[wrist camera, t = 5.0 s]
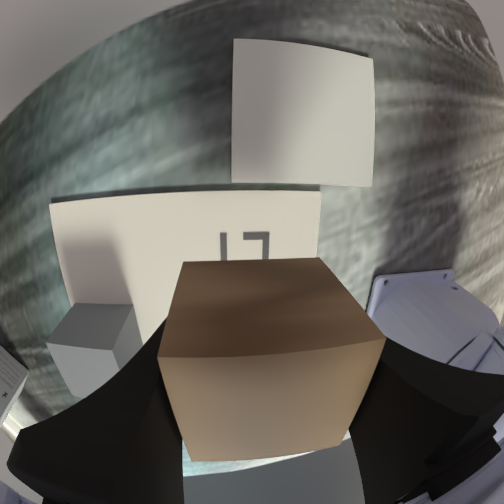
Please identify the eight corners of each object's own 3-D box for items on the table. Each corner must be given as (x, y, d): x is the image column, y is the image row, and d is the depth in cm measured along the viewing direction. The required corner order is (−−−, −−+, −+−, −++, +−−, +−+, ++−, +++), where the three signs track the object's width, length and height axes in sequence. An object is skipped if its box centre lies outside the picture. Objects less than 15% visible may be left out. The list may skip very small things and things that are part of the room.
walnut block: (319, 257, 10) (386, 338, 6) (305, 357, 12) (339, 445, 7) (183, 261, 10) (157, 357, 5) (195, 364, 11) (191, 461, 7)
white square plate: (369, 60, 14) (372, 59, 13) (368, 186, 17) (371, 187, 16) (233, 41, 13) (233, 38, 12) (231, 181, 16) (231, 182, 15)
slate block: (133, 304, 18) (112, 350, 13) (146, 357, 19) (134, 405, 15) (75, 302, 17) (45, 342, 12) (92, 353, 19) (73, 395, 14)
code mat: (319, 191, 17) (321, 192, 16) (303, 345, 21) (304, 348, 20) (51, 203, 15) (48, 204, 14) (87, 346, 19) (85, 349, 18)
